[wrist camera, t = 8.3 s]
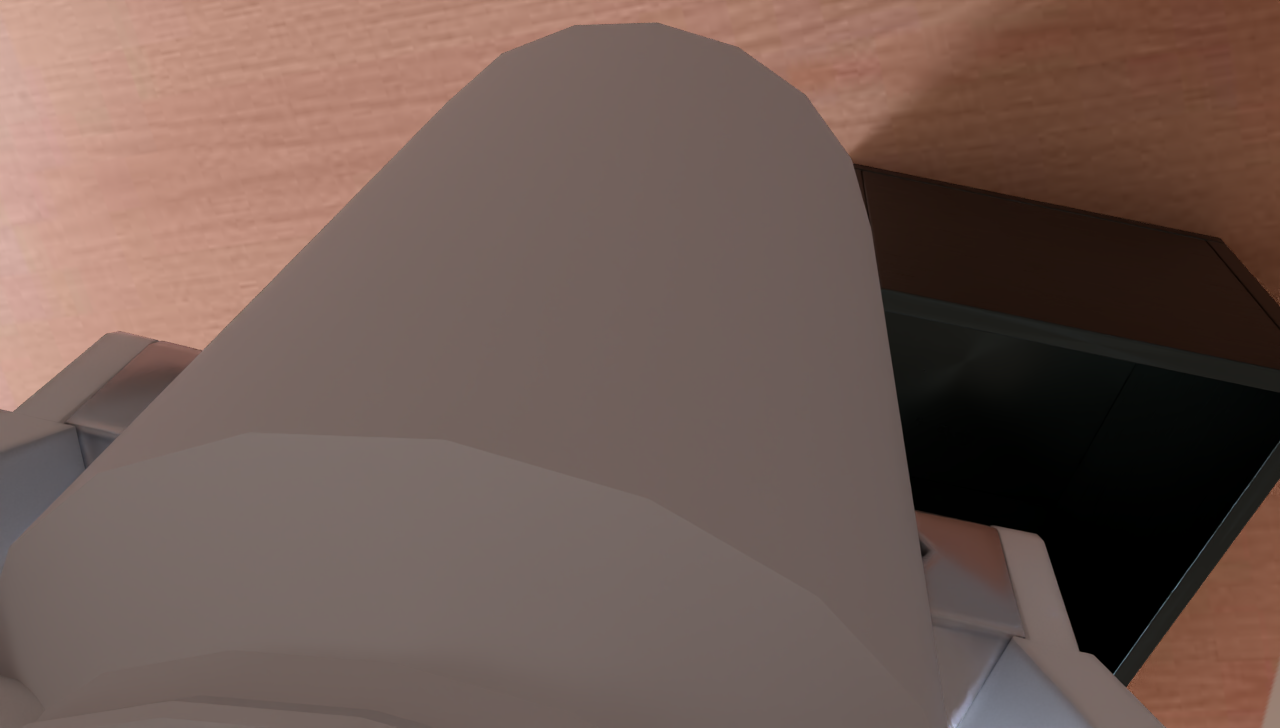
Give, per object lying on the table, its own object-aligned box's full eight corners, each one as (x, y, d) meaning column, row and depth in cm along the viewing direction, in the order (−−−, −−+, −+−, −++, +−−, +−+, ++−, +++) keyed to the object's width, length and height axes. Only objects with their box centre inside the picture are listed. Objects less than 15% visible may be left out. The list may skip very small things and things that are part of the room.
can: (739, 471, 18) (670, 1332, 8) (380, 315, 17) (-172, 1069, 7) (963, 140, 14) (1357, 1075, 4) (505, -85, 13) (-366, 417, 3)
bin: (1221, 238, 37) (1349, 385, 29) (1061, 515, 46) (1123, 692, 38) (841, 160, 38) (855, 283, 29) (755, 450, 47) (746, 609, 38)
